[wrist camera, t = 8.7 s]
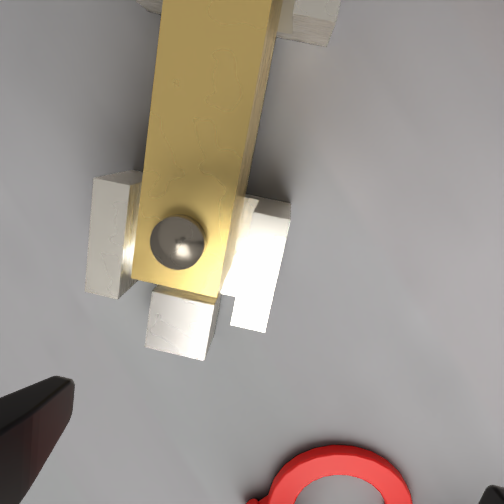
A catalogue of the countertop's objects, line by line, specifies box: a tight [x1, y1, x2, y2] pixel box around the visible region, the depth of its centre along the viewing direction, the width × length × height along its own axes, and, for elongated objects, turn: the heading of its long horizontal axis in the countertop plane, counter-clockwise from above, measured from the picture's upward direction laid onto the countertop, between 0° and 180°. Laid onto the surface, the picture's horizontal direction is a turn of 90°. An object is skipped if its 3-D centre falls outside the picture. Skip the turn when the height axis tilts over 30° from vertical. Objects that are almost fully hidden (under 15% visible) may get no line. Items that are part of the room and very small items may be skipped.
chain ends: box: [85, 0, 341, 361], centre depth 17 cm, size 8×23×4 cm, turn 168°
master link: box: [131, 0, 283, 298], centre depth 15 cm, size 4×14×5 cm, turn 168°
